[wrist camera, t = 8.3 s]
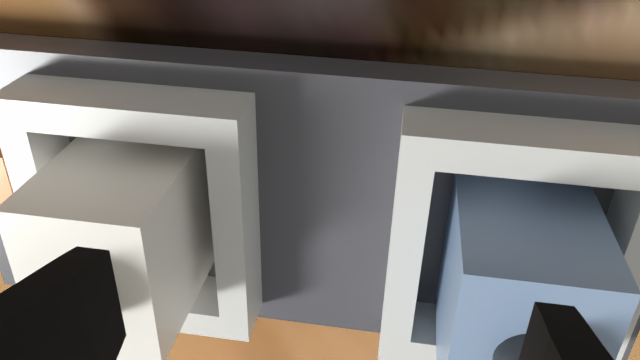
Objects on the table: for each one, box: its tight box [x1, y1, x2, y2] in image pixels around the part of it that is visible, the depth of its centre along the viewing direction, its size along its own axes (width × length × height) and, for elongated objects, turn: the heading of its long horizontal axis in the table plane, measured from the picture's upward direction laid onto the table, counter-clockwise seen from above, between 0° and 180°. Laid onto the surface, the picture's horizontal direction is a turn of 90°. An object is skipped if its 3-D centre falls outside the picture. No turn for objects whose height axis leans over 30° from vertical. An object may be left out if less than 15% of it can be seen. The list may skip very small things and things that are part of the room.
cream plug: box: [0, 137, 214, 360], centre depth 18 cm, size 5×4×7 cm
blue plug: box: [435, 173, 640, 360], centre depth 16 cm, size 5×4×7 cm
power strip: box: [0, 33, 640, 360], centre depth 20 cm, size 10×24×4 cm, turn 89°
